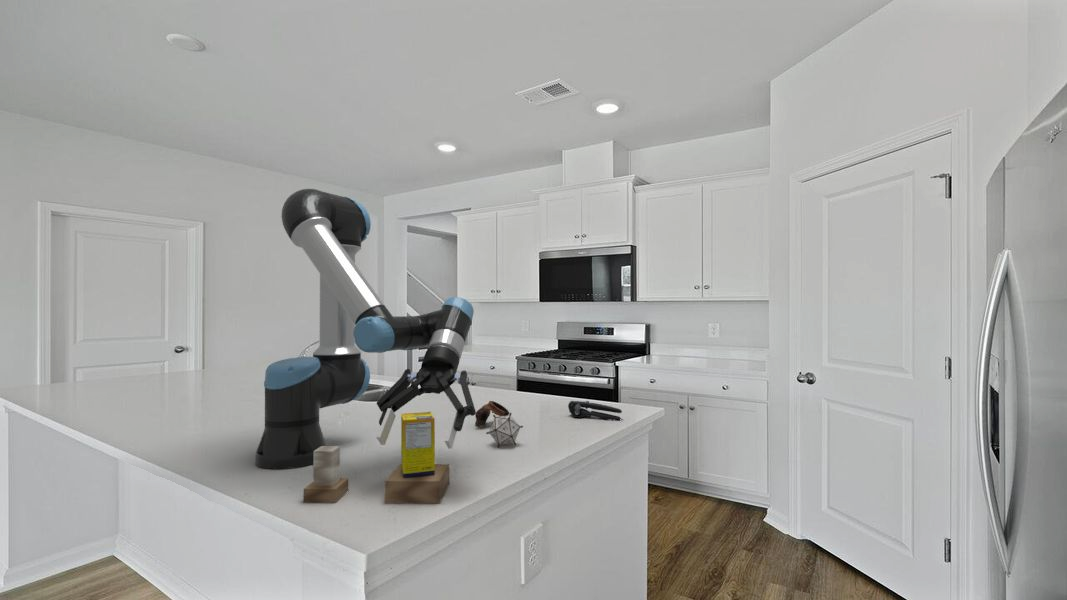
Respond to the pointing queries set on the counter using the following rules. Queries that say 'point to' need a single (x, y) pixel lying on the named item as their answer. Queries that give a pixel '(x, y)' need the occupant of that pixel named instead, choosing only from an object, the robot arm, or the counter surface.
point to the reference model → (326, 477)
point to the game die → (504, 430)
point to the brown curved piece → (485, 412)
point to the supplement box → (417, 444)
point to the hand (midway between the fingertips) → (413, 443)
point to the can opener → (580, 412)
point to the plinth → (417, 486)
